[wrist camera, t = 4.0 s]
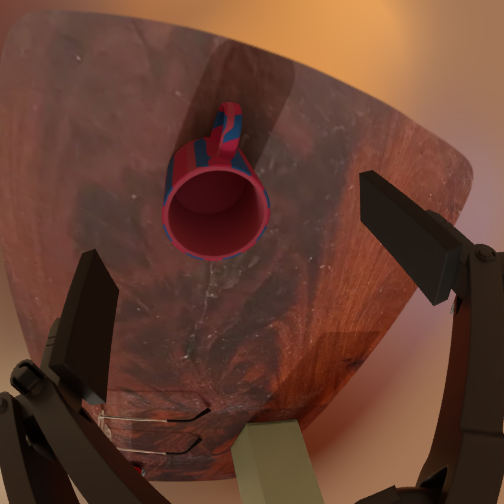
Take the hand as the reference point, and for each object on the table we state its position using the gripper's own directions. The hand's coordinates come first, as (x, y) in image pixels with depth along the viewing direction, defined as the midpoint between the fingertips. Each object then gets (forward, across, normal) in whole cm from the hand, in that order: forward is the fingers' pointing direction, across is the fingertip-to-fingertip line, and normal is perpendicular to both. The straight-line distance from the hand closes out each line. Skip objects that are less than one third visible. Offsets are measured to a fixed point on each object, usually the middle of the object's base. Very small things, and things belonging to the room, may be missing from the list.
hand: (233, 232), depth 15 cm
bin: (+11, -6, -55) cm, 56 cm away
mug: (+12, 0, 0) cm, 12 cm away
